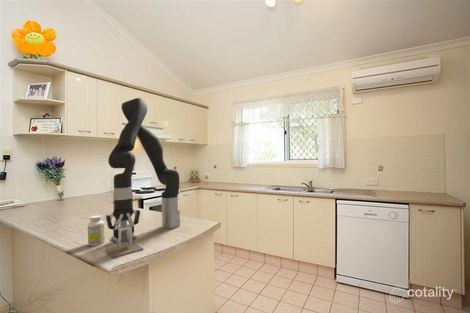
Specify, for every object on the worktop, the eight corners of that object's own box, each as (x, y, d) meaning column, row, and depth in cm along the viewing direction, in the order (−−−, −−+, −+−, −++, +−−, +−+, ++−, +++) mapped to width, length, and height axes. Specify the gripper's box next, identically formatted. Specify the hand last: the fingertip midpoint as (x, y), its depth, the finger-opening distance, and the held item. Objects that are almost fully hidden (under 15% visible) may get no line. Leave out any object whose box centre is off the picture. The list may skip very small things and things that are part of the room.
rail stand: (130, 234, 120) (129, 196, 120) (140, 242, 108) (139, 200, 108) (111, 238, 114) (110, 199, 114) (120, 247, 102) (119, 203, 102)
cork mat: (134, 242, 108) (134, 241, 108) (143, 249, 99) (143, 248, 99) (105, 249, 100) (105, 248, 100) (112, 258, 91) (112, 256, 91)
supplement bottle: (98, 240, 112) (97, 214, 112) (107, 241, 110) (107, 215, 110) (84, 245, 106) (84, 217, 106) (94, 247, 104) (93, 218, 104)
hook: (129, 242, 103) (128, 224, 103) (132, 244, 100) (131, 225, 100) (116, 245, 99) (115, 226, 99) (118, 248, 96) (118, 228, 96)
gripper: (137, 194, 107) (137, 230, 107) (102, 198, 98) (103, 238, 98) (142, 196, 102) (143, 234, 102) (106, 201, 92) (107, 242, 92)
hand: (123, 235), depth 100 cm, fingers closed on hook, 5 cm apart
